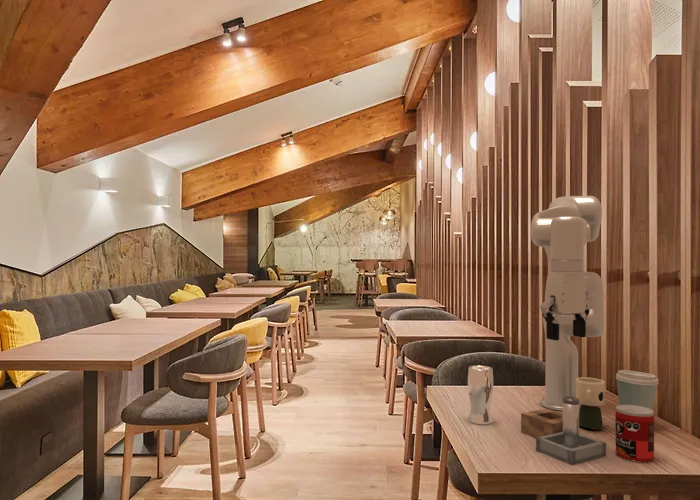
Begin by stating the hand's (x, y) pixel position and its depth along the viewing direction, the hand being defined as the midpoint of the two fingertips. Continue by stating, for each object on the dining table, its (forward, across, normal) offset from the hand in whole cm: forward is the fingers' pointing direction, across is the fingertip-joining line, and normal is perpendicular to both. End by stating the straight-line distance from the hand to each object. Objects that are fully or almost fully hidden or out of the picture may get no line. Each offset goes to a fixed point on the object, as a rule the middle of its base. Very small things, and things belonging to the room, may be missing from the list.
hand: (566, 338), depth 127 cm
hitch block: (+27, -4, -8) cm, 28 cm away
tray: (+27, +2, +3) cm, 27 cm away
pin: (+26, +2, +3) cm, 26 cm away
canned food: (+27, -10, +11) cm, 31 cm away
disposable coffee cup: (+27, -32, -2) cm, 42 cm away
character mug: (+27, -19, -7) cm, 34 cm away
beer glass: (+27, +4, -25) cm, 37 cm away
